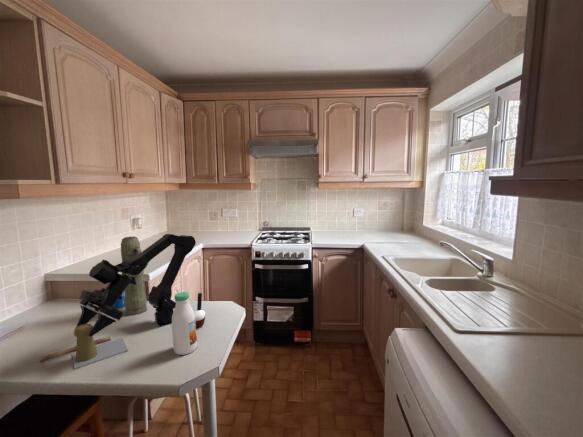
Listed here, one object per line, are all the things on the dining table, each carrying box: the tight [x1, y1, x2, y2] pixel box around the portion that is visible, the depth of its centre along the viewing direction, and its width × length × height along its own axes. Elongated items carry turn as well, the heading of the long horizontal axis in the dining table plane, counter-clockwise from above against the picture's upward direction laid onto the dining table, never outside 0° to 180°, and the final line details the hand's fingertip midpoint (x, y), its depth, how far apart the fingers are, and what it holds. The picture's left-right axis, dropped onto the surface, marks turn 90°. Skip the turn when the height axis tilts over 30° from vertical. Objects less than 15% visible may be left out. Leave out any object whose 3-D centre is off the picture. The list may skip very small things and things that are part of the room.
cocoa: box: [194, 292, 206, 329], centre depth 115 cm, size 10×6×12 cm, turn 155°
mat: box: [72, 337, 129, 370], centre depth 98 cm, size 15×11×1 cm
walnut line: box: [39, 335, 112, 363], centre depth 101 cm, size 20×2×1 cm, turn 130°
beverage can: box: [113, 291, 125, 310], centre depth 136 cm, size 6×6×12 cm
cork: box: [73, 323, 98, 362], centre depth 95 cm, size 6×6×11 cm
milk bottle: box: [171, 291, 198, 356], centre depth 98 cm, size 8×8×20 cm
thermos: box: [120, 236, 148, 316], centre depth 130 cm, size 9×12×35 cm
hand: (83, 332), depth 94 cm, fingers open, 9 cm apart
